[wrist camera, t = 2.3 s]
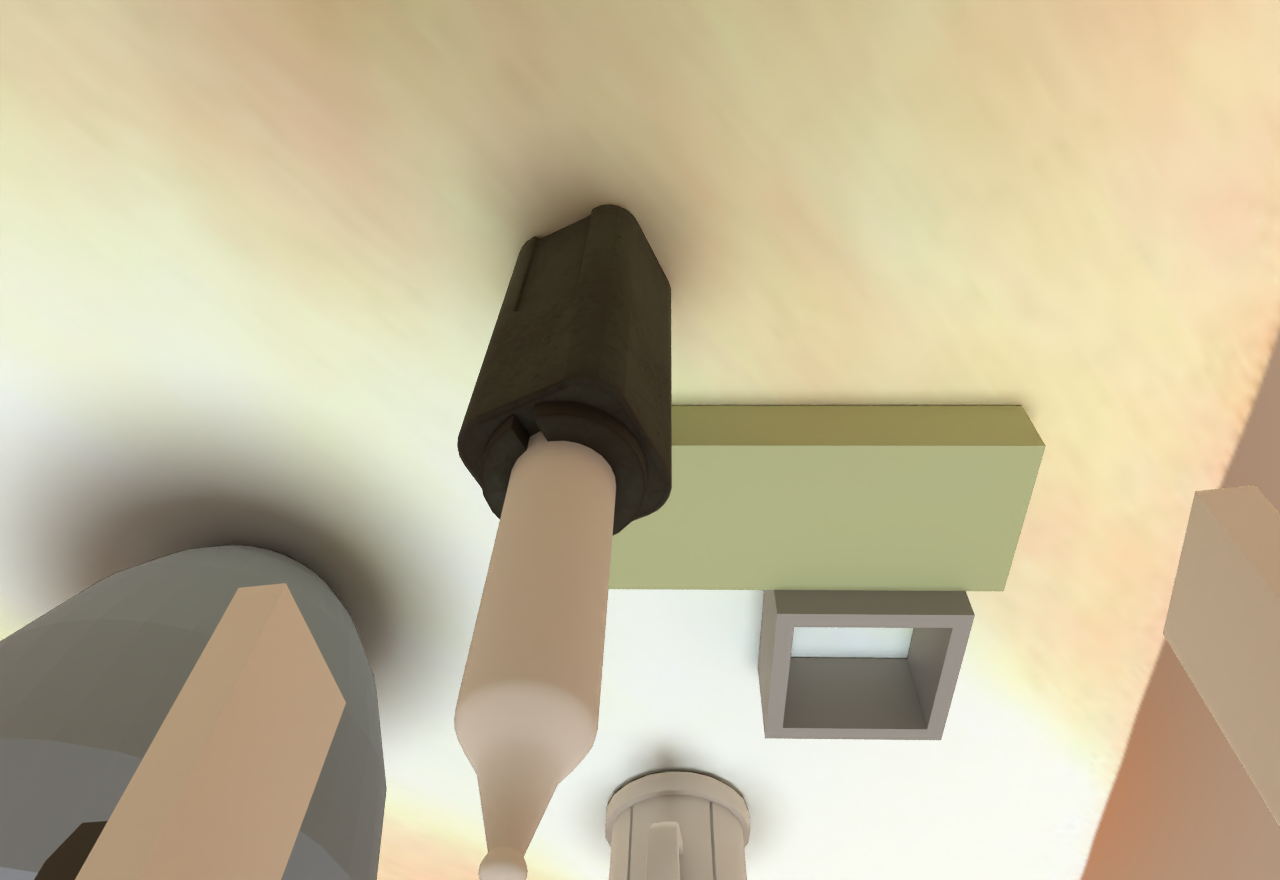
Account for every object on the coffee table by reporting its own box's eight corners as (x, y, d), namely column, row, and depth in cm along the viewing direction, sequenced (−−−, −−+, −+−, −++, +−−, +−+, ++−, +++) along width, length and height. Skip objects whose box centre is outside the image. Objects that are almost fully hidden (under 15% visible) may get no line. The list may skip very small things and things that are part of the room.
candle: (623, 193, 34) (555, 774, 14) (680, 305, 37) (696, 934, 16) (506, 249, 36) (288, 852, 15) (570, 353, 38) (455, 988, 18)
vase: (143, 726, 53) (-173, 1283, 33) (-8, 452, 42) (-622, 1042, 22) (477, 723, 52) (358, 1294, 32) (412, 442, 41) (170, 1047, 21)
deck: (613, 666, 49) (609, 736, 45) (601, 405, 40) (594, 467, 36) (952, 669, 49) (976, 740, 45) (1021, 405, 39) (1058, 468, 35)
